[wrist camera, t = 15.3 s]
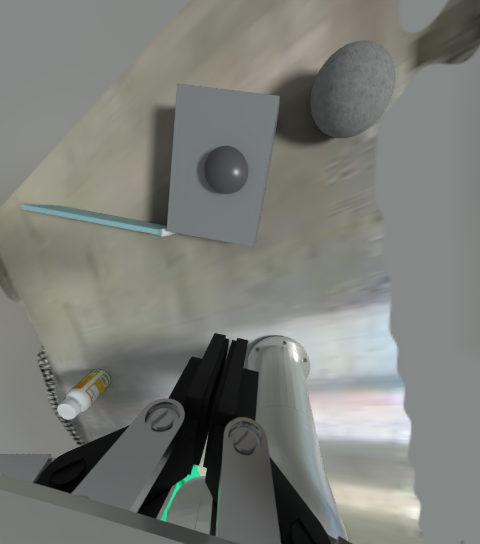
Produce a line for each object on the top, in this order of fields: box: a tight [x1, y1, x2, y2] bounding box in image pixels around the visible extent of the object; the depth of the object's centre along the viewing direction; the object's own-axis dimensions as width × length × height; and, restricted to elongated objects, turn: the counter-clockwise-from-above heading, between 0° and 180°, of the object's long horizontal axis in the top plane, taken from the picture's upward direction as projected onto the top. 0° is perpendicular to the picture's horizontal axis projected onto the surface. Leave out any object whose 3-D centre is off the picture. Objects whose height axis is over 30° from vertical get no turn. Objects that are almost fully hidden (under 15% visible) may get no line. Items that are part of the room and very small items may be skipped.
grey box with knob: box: [167, 84, 280, 247], centre depth 35 cm, size 20×14×9 cm
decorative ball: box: [310, 41, 395, 138], centre depth 30 cm, size 10×10×10 cm
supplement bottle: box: [57, 369, 111, 420], centre depth 50 cm, size 5×5×10 cm
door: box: [21, 204, 177, 237], centre depth 40 cm, size 26×1×7 cm, turn 81°
